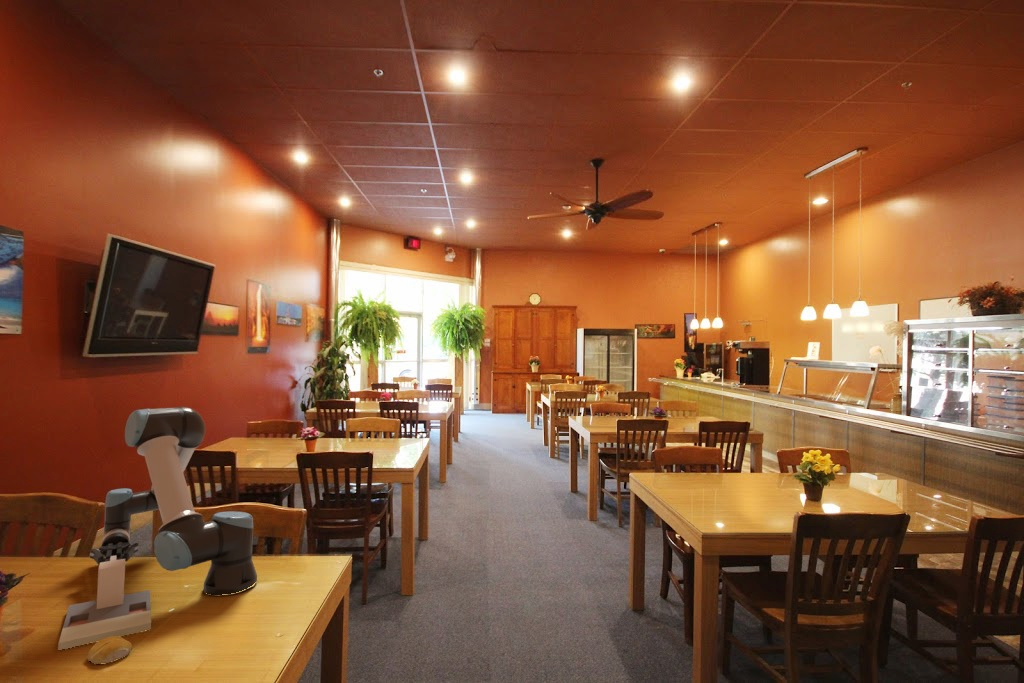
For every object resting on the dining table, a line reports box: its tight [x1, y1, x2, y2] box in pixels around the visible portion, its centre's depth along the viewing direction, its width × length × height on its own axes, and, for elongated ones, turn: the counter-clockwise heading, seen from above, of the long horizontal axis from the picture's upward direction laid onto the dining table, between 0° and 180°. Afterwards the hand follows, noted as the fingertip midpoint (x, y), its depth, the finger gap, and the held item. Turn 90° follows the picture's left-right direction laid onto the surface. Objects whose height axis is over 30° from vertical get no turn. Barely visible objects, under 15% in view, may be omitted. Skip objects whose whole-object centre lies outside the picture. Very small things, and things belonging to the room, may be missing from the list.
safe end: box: [57, 609, 152, 651], centre depth 140 cm, size 8×19×2 cm, turn 125°
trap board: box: [62, 589, 152, 629], centre depth 150 cm, size 16×19×2 cm
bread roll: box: [87, 636, 133, 665], centre depth 130 cm, size 8×9×4 cm
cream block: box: [96, 559, 126, 609], centre depth 153 cm, size 6×6×11 cm
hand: (112, 567), depth 160 cm, fingers closed
